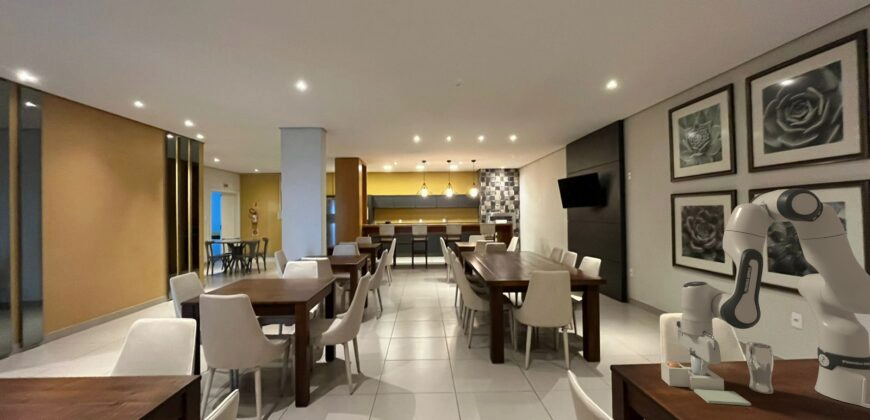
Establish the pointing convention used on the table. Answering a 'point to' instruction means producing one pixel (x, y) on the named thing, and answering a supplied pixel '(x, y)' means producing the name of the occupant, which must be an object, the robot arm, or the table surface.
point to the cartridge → (696, 364)
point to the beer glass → (760, 366)
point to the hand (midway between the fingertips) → (698, 367)
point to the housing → (690, 378)
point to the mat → (722, 397)
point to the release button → (673, 365)
